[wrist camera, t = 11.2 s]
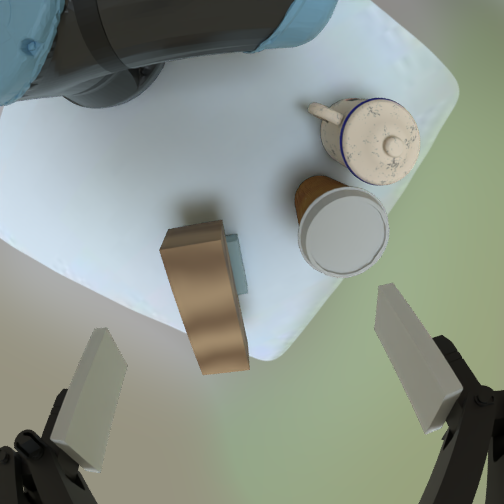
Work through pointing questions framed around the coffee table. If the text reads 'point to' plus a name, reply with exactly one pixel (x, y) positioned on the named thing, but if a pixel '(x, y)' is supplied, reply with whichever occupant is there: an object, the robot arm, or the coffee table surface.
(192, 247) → the batten
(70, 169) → the coffee table surface
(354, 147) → the teacup with lid
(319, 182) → the disposable coffee cup
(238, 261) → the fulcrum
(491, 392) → the robot arm
